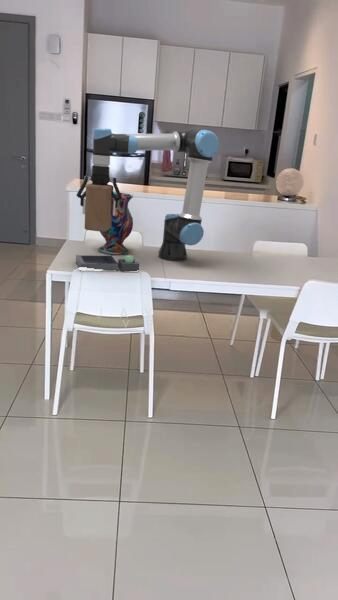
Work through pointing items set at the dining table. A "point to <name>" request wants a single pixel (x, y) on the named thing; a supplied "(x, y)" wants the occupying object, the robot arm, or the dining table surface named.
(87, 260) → the dark grey tray
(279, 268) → the dining table surface
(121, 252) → the vase
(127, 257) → the plunger
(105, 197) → the wooden block
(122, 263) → the dark grey square block
